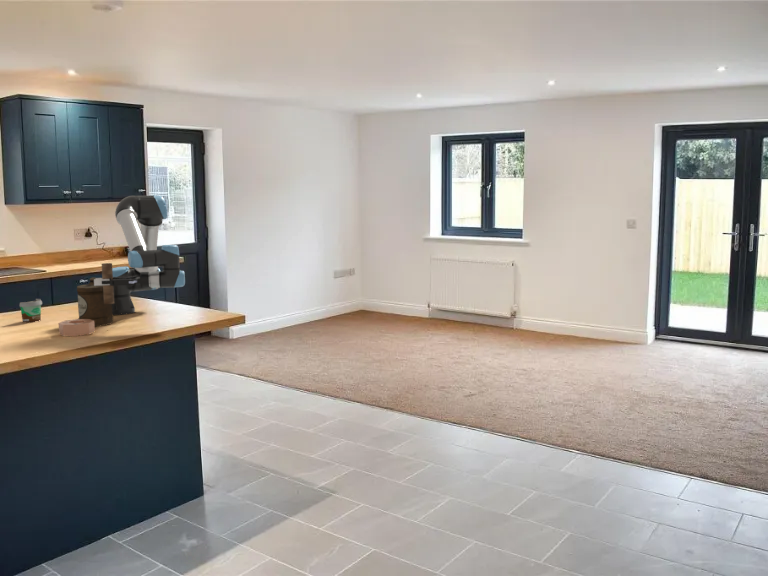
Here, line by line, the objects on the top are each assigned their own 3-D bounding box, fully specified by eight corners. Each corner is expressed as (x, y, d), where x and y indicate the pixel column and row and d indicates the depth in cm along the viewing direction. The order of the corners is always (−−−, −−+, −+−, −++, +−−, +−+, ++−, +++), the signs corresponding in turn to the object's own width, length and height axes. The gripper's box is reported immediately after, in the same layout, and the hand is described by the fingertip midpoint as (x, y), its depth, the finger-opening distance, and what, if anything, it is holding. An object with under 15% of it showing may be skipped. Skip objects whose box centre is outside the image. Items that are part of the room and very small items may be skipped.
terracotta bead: (86, 328, 324) (86, 317, 324) (98, 332, 314) (97, 321, 314) (56, 332, 315) (55, 321, 314) (67, 337, 305) (66, 325, 305)
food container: (32, 323, 337) (30, 302, 336) (20, 323, 339) (19, 302, 337) (49, 319, 349) (47, 298, 348) (38, 318, 351) (36, 298, 349)
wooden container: (79, 321, 342) (76, 276, 338) (112, 319, 347) (110, 275, 344) (78, 327, 328) (75, 280, 325) (113, 325, 333) (110, 278, 330)
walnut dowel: (111, 302, 324) (109, 262, 322) (115, 303, 321) (113, 263, 319) (102, 303, 321) (99, 263, 319) (106, 304, 318) (103, 264, 316)
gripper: (148, 290, 316) (92, 292, 311) (151, 285, 333) (98, 287, 327) (147, 273, 315) (91, 275, 310) (150, 269, 332) (97, 271, 326)
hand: (95, 281), depth 318 cm, fingers closed on walnut dowel, 4 cm apart
